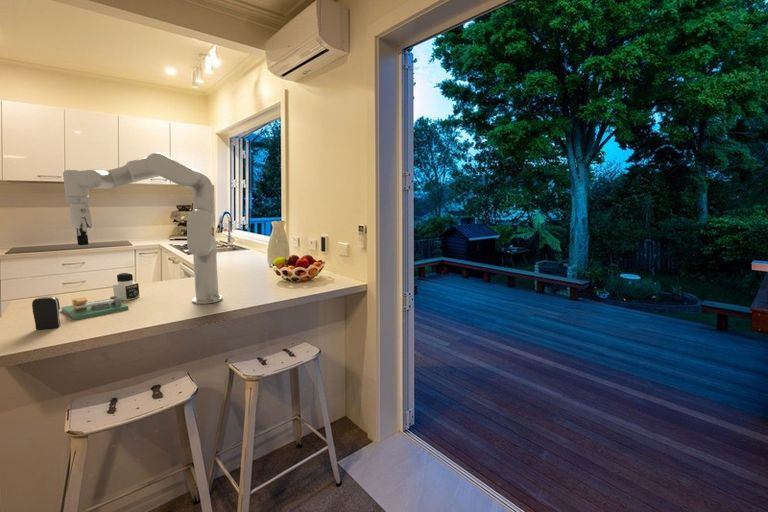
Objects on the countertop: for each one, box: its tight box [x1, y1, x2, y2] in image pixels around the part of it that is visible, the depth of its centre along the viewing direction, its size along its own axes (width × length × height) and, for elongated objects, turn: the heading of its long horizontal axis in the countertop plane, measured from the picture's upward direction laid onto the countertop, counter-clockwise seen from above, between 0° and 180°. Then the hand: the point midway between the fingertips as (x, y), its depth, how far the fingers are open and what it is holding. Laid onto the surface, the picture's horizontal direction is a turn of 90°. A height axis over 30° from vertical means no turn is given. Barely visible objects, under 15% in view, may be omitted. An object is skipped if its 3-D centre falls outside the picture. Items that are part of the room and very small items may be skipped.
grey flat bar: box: [75, 298, 116, 308], centre depth 154 cm, size 3×14×1 cm, turn 143°
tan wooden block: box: [71, 297, 89, 310], centre depth 150 cm, size 6×4×4 cm, turn 52°
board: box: [60, 295, 129, 321], centre depth 156 cm, size 19×18×5 cm
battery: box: [31, 296, 61, 330], centre depth 135 cm, size 7×4×11 cm, turn 112°
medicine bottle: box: [112, 272, 140, 302], centre depth 173 cm, size 7×7×12 cm
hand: (83, 244), depth 156 cm, fingers closed
